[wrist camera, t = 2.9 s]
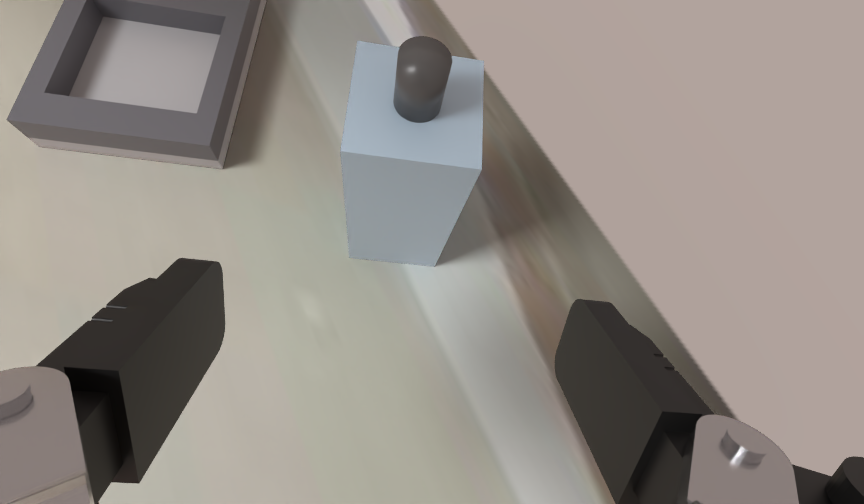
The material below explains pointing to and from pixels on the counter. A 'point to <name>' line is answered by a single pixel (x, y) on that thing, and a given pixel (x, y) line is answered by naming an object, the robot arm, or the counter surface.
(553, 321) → the counter surface
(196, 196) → the counter surface
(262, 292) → the counter surface
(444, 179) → the plug
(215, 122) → the grey rimmed tray
